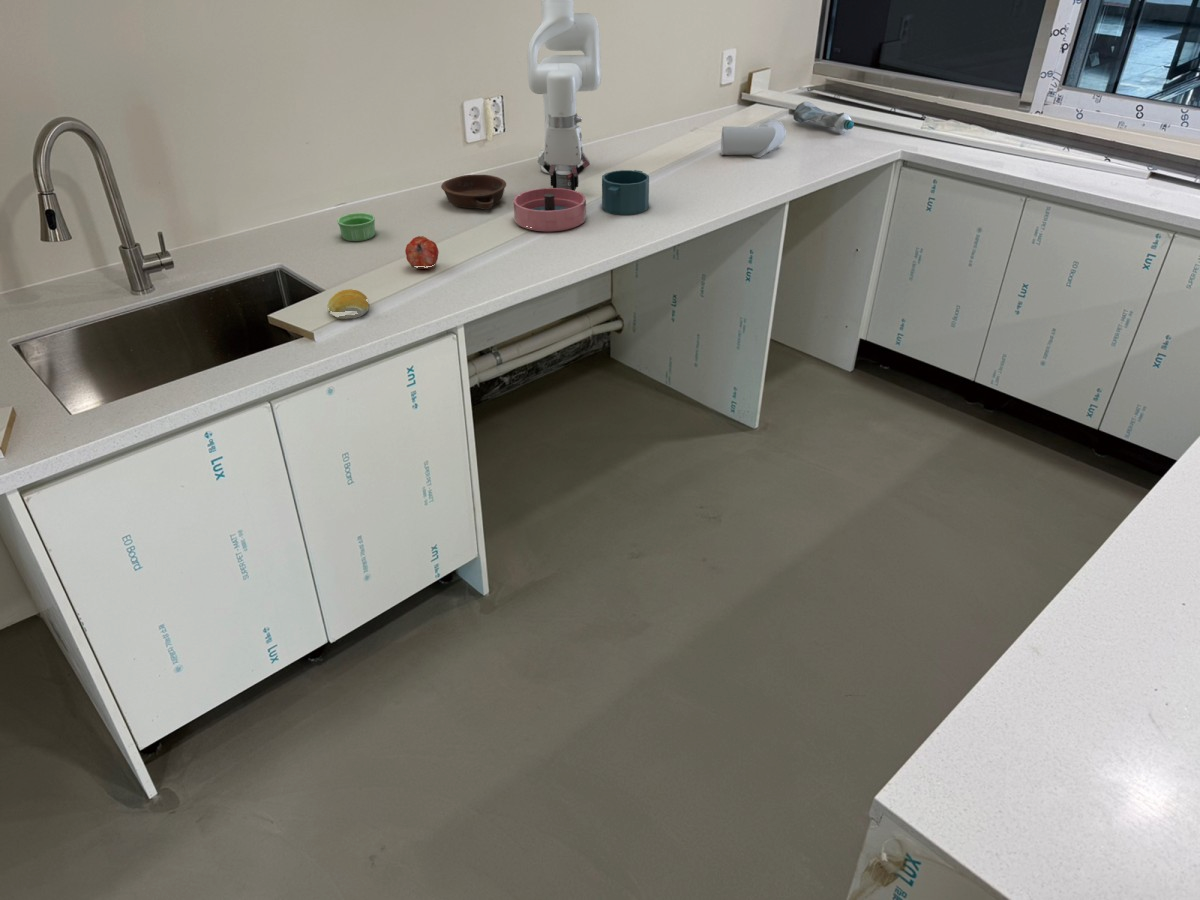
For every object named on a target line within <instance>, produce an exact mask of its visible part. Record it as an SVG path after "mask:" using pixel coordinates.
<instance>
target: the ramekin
mask: <svg viewBox="0 0 1200 900" xmlns="http://www.w3.org/2000/svg"><path fill="white" fill-rule="evenodd" d="M375 220H376V217H375V216H374V215H373V214H372V213H369V212H368V213H367V212H352V213H347V214H343V215H342V216H340V217H338V219H337V225H338V227H339V230H340V234H341V237H342V238H343V239H344V240H346V241H348V242H362V241H367V240H370V239H372V238H373V237H374V236H375V235H376V225H375Z"/></svg>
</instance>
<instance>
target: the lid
mask: <svg viewBox="0 0 1200 900" xmlns="http://www.w3.org/2000/svg"><path fill="white" fill-rule="evenodd" d="M544 202H545V206H542V207H536V208H533V209H532V210H541V211H554V210H563V209H568V208H567V207H562V206H555V197H554V194H545V195H544Z"/></svg>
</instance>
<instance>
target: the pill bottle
mask: <svg viewBox="0 0 1200 900" xmlns="http://www.w3.org/2000/svg"><path fill="white" fill-rule="evenodd" d="M572 176H573V171H572V169H571V166H569V165H557V170H556V188H563V189H570V190H572Z"/></svg>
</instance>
